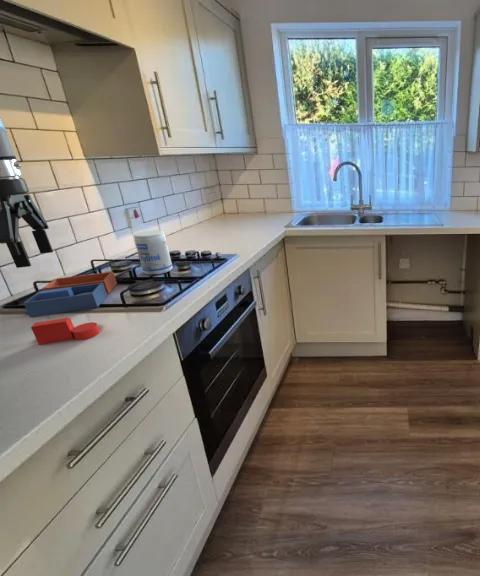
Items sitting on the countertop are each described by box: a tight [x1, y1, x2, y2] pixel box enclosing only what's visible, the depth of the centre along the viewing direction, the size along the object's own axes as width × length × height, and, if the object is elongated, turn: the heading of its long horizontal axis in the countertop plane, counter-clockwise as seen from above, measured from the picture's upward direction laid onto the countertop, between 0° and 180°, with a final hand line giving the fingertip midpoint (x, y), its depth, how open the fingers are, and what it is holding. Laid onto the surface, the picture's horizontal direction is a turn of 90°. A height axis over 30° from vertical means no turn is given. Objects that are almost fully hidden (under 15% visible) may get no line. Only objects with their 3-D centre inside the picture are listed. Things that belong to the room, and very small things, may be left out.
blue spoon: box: [39, 287, 92, 300], centre depth 108 cm, size 12×5×5 cm, turn 110°
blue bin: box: [23, 283, 108, 318], centre depth 108 cm, size 16×9×4 cm, turn 111°
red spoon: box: [30, 316, 101, 345], centre depth 90 cm, size 12×5×5 cm, turn 110°
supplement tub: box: [133, 229, 173, 276], centre depth 133 cm, size 10×10×15 cm
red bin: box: [41, 271, 118, 295], centre depth 117 cm, size 16×9×4 cm, turn 110°
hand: (36, 259), depth 98 cm, fingers open, 13 cm apart
